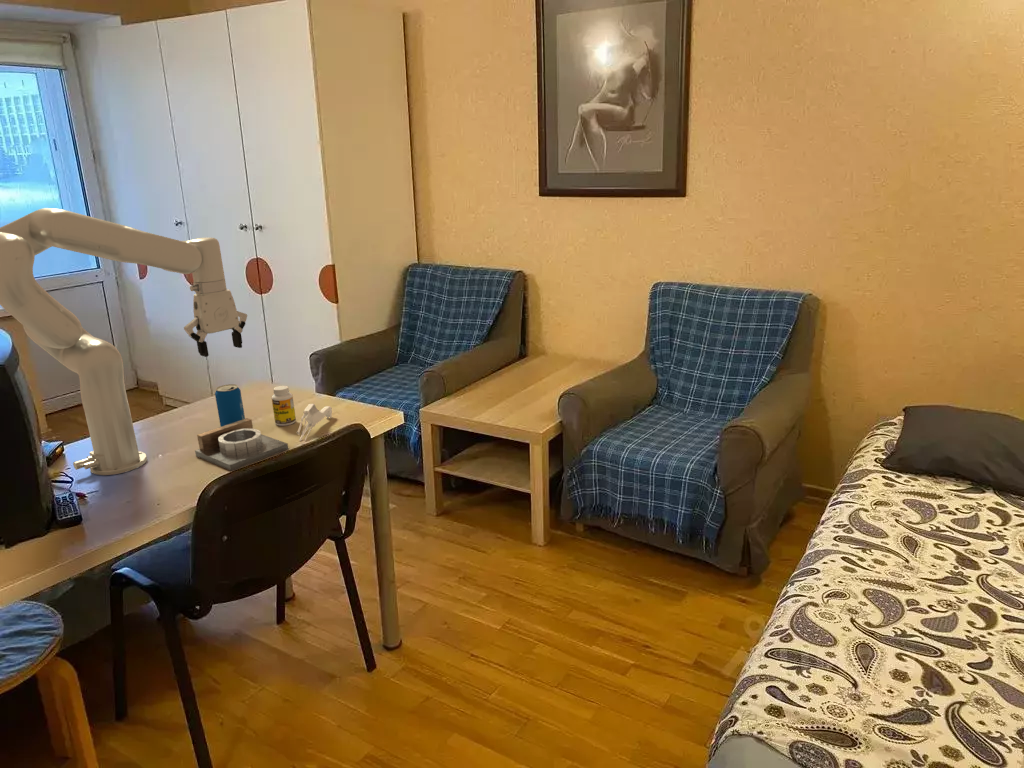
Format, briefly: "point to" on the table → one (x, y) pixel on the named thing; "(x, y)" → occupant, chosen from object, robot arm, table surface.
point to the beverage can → (229, 404)
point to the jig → (237, 445)
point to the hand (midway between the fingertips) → (221, 351)
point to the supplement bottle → (283, 406)
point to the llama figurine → (313, 417)
